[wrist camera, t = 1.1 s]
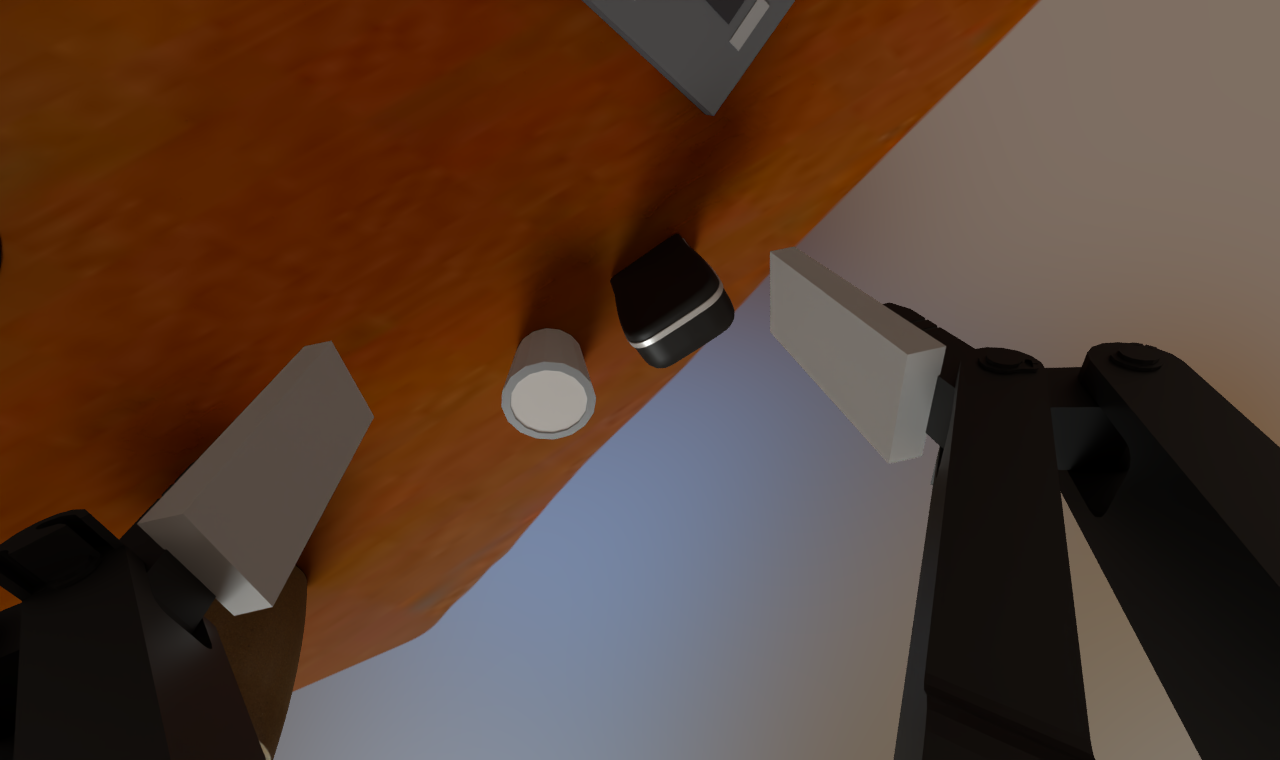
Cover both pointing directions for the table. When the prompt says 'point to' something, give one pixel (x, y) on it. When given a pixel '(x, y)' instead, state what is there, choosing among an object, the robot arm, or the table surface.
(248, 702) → the plant pot
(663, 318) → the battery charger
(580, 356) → the grey rimmed cylinder
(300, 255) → the table surface
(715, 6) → the console
